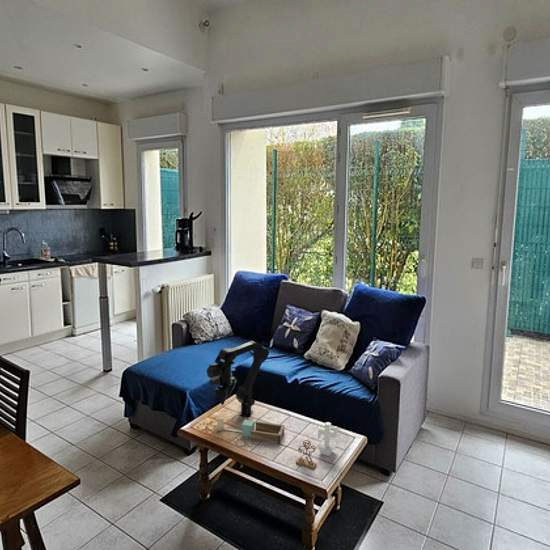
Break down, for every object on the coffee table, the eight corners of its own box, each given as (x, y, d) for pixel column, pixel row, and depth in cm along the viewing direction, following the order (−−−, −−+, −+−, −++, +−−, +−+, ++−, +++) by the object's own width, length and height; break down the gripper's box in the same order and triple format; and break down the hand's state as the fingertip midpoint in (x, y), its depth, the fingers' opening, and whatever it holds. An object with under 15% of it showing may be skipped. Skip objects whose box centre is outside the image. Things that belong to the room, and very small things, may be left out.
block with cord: (219, 426, 221) (219, 415, 220) (254, 431, 217) (254, 421, 216) (215, 431, 216) (215, 420, 215) (251, 436, 212) (251, 425, 211)
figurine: (320, 445, 206) (321, 417, 203) (338, 451, 201) (340, 422, 199) (314, 453, 200) (315, 423, 197) (333, 459, 195) (334, 429, 193)
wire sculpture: (295, 463, 191) (296, 439, 189) (298, 459, 194) (299, 435, 192) (313, 469, 187) (314, 444, 185) (316, 465, 190) (317, 440, 188)
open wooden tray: (256, 429, 220) (256, 421, 219) (284, 433, 216) (284, 425, 216) (250, 439, 210) (250, 431, 209) (279, 444, 206) (280, 435, 206)
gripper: (217, 365, 233) (217, 391, 235) (204, 378, 215) (204, 406, 217) (236, 367, 230) (236, 394, 233) (225, 380, 212) (225, 409, 215)
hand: (225, 400), depth 224 cm, fingers open, 9 cm apart
